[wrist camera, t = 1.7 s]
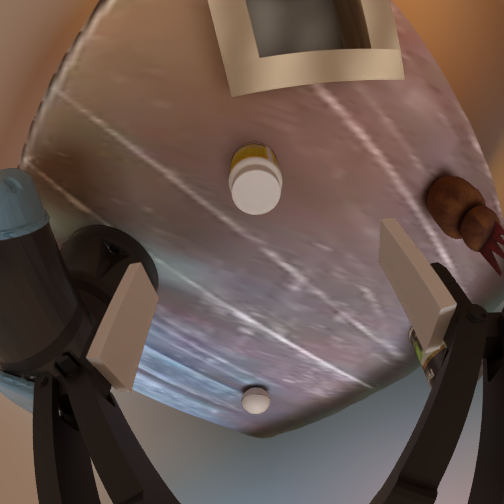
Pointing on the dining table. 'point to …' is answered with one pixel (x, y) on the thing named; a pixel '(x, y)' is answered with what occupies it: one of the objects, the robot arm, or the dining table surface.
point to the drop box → (305, 42)
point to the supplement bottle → (255, 179)
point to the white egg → (255, 400)
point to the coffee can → (431, 358)
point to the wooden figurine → (466, 217)
